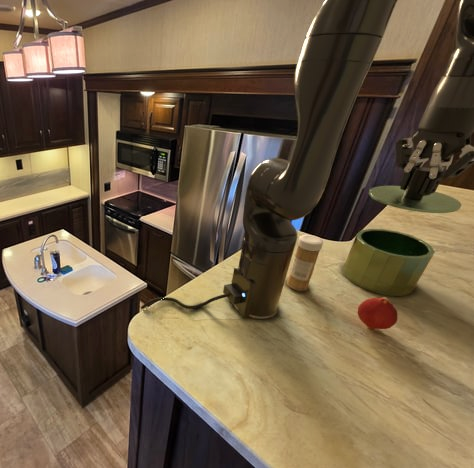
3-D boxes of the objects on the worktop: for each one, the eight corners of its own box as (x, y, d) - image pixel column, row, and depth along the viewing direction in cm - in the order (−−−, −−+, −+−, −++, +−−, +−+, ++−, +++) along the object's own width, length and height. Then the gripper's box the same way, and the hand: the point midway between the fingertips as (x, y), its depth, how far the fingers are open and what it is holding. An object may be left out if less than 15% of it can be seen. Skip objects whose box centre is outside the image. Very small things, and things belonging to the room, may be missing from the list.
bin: (381, 300, 65) (400, 262, 60) (330, 268, 76) (343, 233, 71) (428, 290, 67) (451, 252, 62) (371, 259, 78) (387, 225, 73)
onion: (353, 312, 62) (366, 283, 59) (388, 324, 59) (405, 294, 55) (351, 329, 59) (365, 299, 55) (388, 343, 55) (407, 312, 51)
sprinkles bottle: (311, 286, 71) (327, 239, 64) (301, 294, 68) (317, 246, 62) (292, 277, 74) (305, 232, 67) (282, 284, 72) (295, 238, 65)
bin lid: (420, 220, 55) (439, 184, 52) (351, 195, 67) (362, 164, 64) (478, 210, 57) (500, 175, 54) (401, 187, 69) (414, 157, 66)
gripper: (399, 102, 58) (367, 184, 67) (493, 108, 46) (440, 207, 54) (429, 99, 59) (394, 180, 68) (528, 104, 47) (471, 201, 56)
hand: (414, 191), depth 61 cm, fingers closed on bin lid, 3 cm apart
